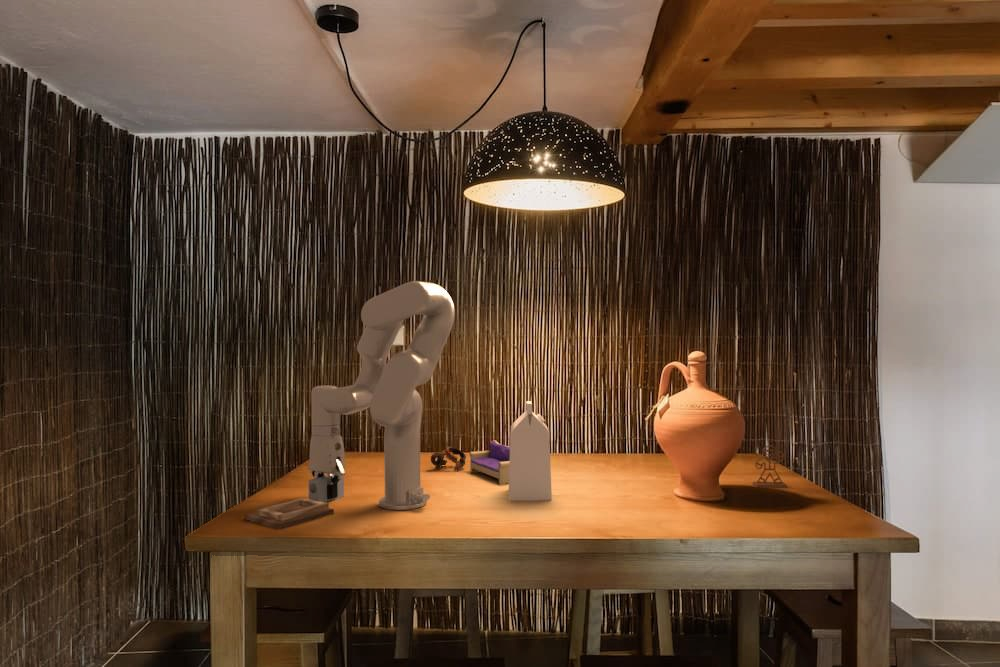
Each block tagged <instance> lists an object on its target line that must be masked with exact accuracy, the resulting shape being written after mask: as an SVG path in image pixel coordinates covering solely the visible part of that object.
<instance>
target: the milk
mask: <svg viewBox="0 0 1000 667" xmlns="http://www.w3.org/2000/svg"><path fill="white" fill-rule="evenodd" d="M525 407H526V409H525V411H524V412H522V414H521V415H519V417H518V418H517V419H515V420H514V421H513V423H512V424H511V425H510V435H509V438H510V440H509V447H510V462H509V483H508V496H509V497H508V498H509V501H553V499H552V498H553V497H552V496H553V495H552V472H551V471H552V470H551V444H550V443H551V442H550V439H551V438H550V429H549V428H548V426H547V424H546V423H545V422H546V420H545V418H544V417H543V416H542V415H541V414H540V413H538V414H536V413H535V412H533V403H532V401H531V400H527V401H525Z"/></svg>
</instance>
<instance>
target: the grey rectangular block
mask: <svg viewBox="0 0 1000 667" xmlns="http://www.w3.org/2000/svg"><path fill="white" fill-rule="evenodd" d="M333 477H334V475H332V478H333ZM328 484H329V482H328V475H325V476H323V477H319V478H315V479H314V478H311V479H308V499H310V500H315V501H320V502H324V503H328V502H331V500H332V501H335V500H339V499H342V498H341V497H343V498H345V475H344V476H343V477H341V479H340V480H339V483H337V489H338V496H337V498H333V499H327V485H328ZM338 498H339V499H338ZM334 499H335V500H334ZM327 501H328V502H327Z"/></svg>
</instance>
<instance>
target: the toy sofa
mask: <svg viewBox="0 0 1000 667" xmlns="http://www.w3.org/2000/svg"><path fill="white" fill-rule="evenodd" d="M488 443H489V444H488V445H489V446H488V447H489V450H481V451H480V450H479V451H478V450H477V451H469V457H470V462H469V463H470V464H469V465H470V467H469V468H470V470H469V471H470V473H471V472H476V473H479V472H478V471H481V472H480V473H484V474H486V475H489V476H491V477H493V478H496V479H498V484H499V485H505V484H509V462H510V445H509V446H508V445H505V444H500V443H499V442H498V441H497V440H494V439H493V440H491V441H489V442H488Z"/></svg>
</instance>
